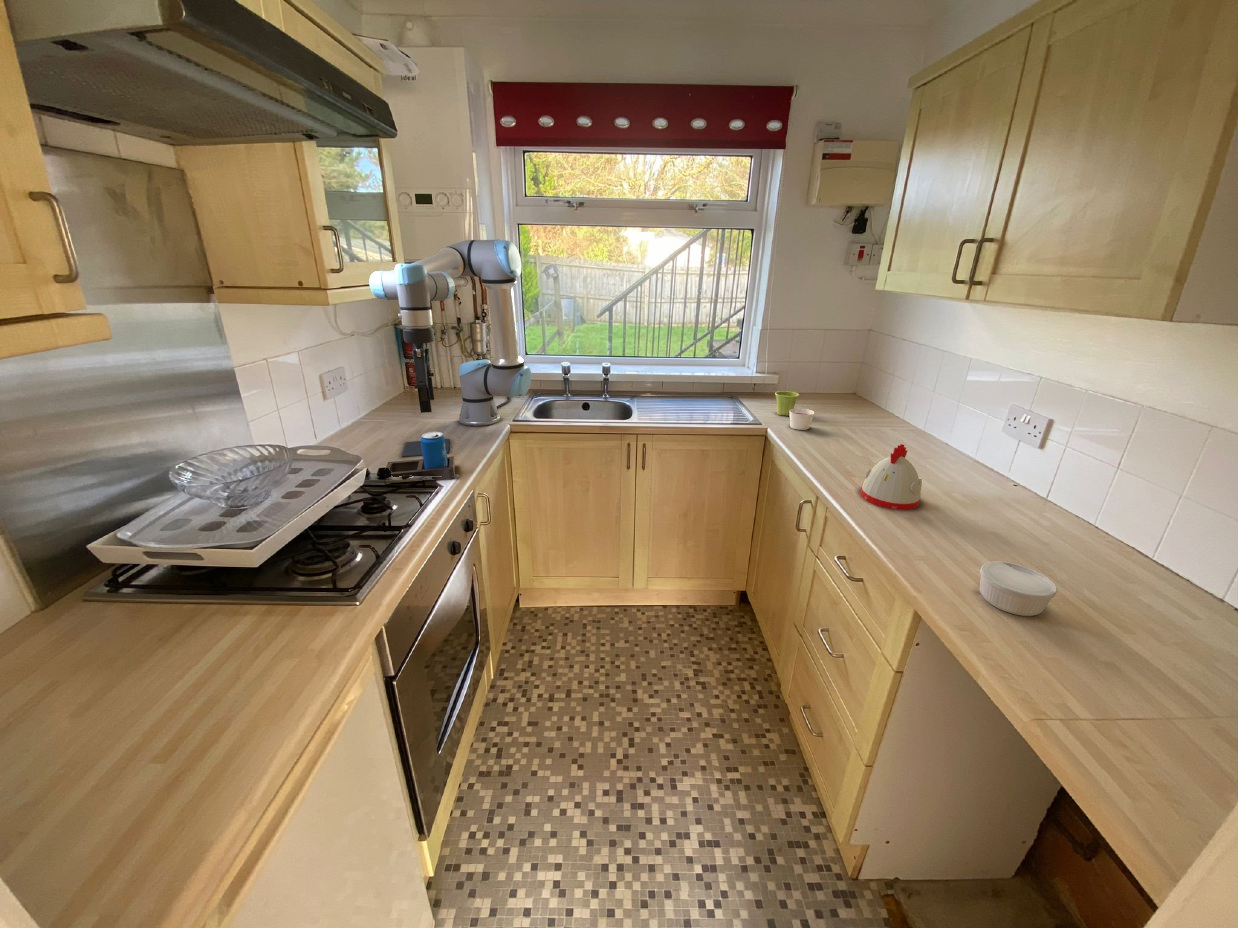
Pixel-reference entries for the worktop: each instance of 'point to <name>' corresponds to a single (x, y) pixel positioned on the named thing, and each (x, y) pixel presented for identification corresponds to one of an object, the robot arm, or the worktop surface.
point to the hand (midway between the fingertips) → (427, 405)
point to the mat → (418, 448)
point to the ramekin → (1015, 588)
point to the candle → (800, 418)
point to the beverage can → (434, 450)
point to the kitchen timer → (893, 482)
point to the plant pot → (785, 401)
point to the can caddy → (421, 469)
